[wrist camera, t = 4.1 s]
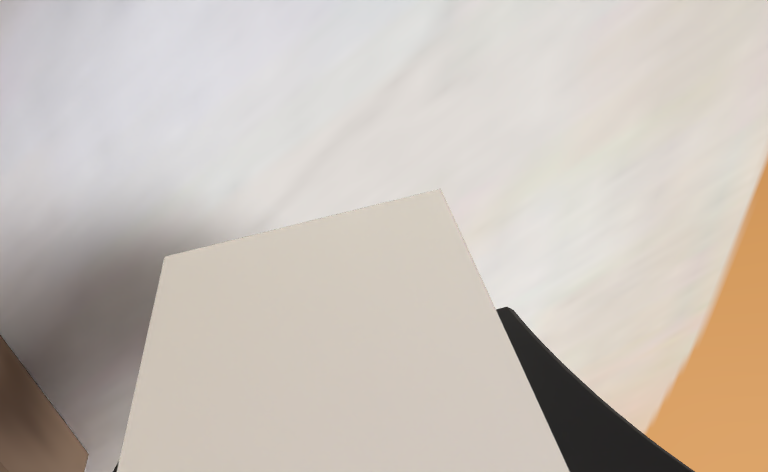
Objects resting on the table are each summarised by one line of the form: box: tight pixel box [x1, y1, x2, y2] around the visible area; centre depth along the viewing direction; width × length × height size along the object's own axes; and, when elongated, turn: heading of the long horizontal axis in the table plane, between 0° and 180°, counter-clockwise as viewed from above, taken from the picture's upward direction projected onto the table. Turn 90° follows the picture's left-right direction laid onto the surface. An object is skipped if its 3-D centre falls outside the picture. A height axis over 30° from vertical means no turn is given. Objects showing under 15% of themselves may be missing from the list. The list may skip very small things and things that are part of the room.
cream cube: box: [117, 189, 570, 472], centre depth 10 cm, size 5×5×6 cm
